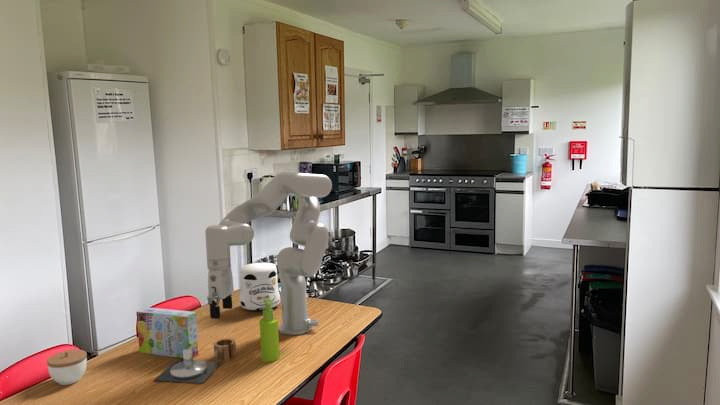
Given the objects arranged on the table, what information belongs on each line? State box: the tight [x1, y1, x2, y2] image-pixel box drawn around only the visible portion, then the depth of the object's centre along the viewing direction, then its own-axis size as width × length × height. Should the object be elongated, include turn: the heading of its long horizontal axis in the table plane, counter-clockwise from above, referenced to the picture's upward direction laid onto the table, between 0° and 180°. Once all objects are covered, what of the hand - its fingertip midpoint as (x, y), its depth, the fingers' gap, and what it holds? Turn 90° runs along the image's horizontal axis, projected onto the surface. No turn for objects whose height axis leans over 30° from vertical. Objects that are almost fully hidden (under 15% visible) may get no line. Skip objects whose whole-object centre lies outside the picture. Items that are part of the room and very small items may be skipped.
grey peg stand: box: [153, 347, 223, 385], centre depth 164 cm, size 16×14×8 cm
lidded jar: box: [46, 349, 88, 386], centre depth 161 cm, size 11×11×9 cm
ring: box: [213, 337, 237, 362], centre depth 175 cm, size 7×7×5 cm
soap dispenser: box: [259, 299, 280, 363], centre depth 172 cm, size 6×7×20 cm
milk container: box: [238, 262, 281, 312], centre depth 223 cm, size 17×17×18 cm
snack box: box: [136, 306, 199, 359], centre depth 179 cm, size 21×6×15 cm, turn 71°
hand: (221, 313), depth 173 cm, fingers open, 9 cm apart
